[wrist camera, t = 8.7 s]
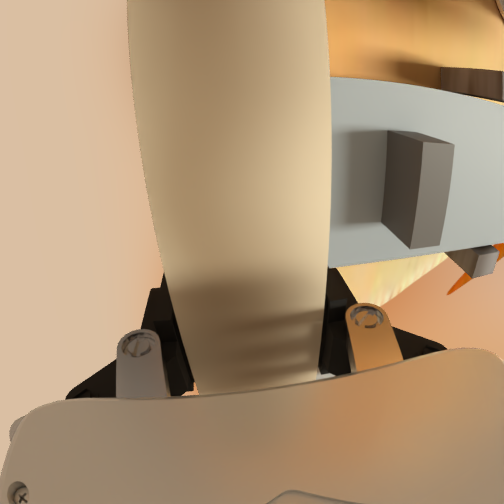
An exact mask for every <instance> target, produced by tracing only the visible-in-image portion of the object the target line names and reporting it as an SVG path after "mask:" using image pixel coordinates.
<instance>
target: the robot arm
mask: <svg viewBox="0 0 504 504" xmlns="http://www.w3.org/2000/svg"><path fill="white" fill-rule="evenodd" d="M496 3H497V6H498V8H499V10H500V13H501V15H502V17H503V19H504V0H496ZM318 368H319V371H320V373H321V375H323V374H328V373H330V374H333V375H335V376H334V377H329V378H324V379H319V380H313V381H308V382H302V383H296V384H290V385H283V386H277V387H270V388H262V389H254V390H246V391H237V392H227V393H217V394H205V395H190V396H181V395H183V394H184V393H185V392H186V391H193V390H194V388H193V387H194V382H195V380H194V377H193V374H192V371H191V368H190V364H189V361H188V358H187V355H186V351H185V348H184V345H183V341H182V338H181V334H180V331H179V327H178V324H177V320H176V316H175V313H174V309H173V305H172V301H171V297H170V294H169V290H168V286H167V282H166V277H165V273H164V274H163V278H162V283H161V287H160V288H152V289H151V291H150V294H149V298H148V302H147V306H146V309H145V314H144V318H143V322H142V326H141V329H139V330H135V331H131V332H130V333H128V334H126V335H125V336H124V337H123V338H121V340H120V341H119V343H118V346H117V359H116V360H114V361H113V362H111V363H110V364H108V365H107V366H105V367H104V368H102V369H101V370H100V371H98V372H97V373H95V374H94V375H92V376H91V377H89V378H88V379H86V380H85V381H83V382H82V383H81V384H79V385H77V386H76V387H74V388H73V389H72V390H71V391H70V392H69V393H68V395H67V396H66V399H65V400H61V401H56V402H52V403H49V404H45V405H42V406H40V407H38V408H36V409H34V410H32V411H30V413H28V414H27V415H25V416H23V417H21V418H19V419H18V420H16V421H15V422H14V423H13V424H12V426H11V429H10V441H11V444H10V446H9V449H8V452H7V455H6V459H5V462H4V465H3V469H2V472H1V476H0V504H504V361H503V360H502V359H501V358H500V357H499V356H498V355H496V354H494V353H493V352H491V351H488V350H484V349H478V348H456V349H448V350H447V348H445V347H444V346H443V345H442V344H439V343H437V342H435V341H432V340H428V339H426V338H423V337H420V336H417V335H415V334H412V333H409V332H406V331H403V330H400V329H398V328H395V327H392V326H391V323H390V320H389V318H388V316H387V314H386V312H385V311H384V310H383V309H382V308H381V307H379V306H377V305H374V304H370V303H359V304H358V302H357V301H356V299H355V297H354V296H353V294H352V292H351V291H350V289H349V288H348V286H347V284H346V283H345V281H344V279H343V278H342V276H341V275H340V273H339V271H338V270H337V269H336V268H329V266H328V267H327V281H326V293H325V305H324V315H323V325H322V335H321V344H320V352H319V361H318Z"/></svg>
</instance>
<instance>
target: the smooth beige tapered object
mask: <svg viewBox="0 0 504 504" xmlns="http://www.w3.org/2000/svg"><path fill="white" fill-rule="evenodd" d="M127 20H128V39H129V55H130V67H131V79H132V89H133V98H134V107H135V115H136V123H137V130H138V138H139V144H140V151H141V158H142V164H143V170H144V176H145V182H146V188H147V193H148V199H149V204H150V209H151V214H152V219H153V224H154V229H155V233H156V238H157V242H158V247H159V252H160V256H161V261H162V265H163V269H164V273H165V277H166V282H167V286H168V290H169V294H170V297H171V301H172V305H173V309H174V313H175V316H176V320H177V324H178V327H179V331H180V334H181V338H182V341H183V345H184V348H185V351H186V355H187V358H188V361H189V364H190V368H191V371H192V374H193V377H194V380H195V383H196V386H197V390H198V393H199V395H205V394H217V393H227V392H237V391H246V390H254V389H262V388H270V387H277V386H283V385H290V384H296V383H302V382H308V381H313V380H316V376H317V368H318V361H319V352H320V344H321V335H322V325H323V315H324V305H325V293H326V281H327V267H328V251H329V233H330V210H331V170H332V126H331V87H330V66H329V49H328V35H327V22H326V11H325V1H324V0H127Z"/></svg>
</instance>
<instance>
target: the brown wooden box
mask: <svg viewBox="0 0 504 504" xmlns="http://www.w3.org/2000/svg"><path fill="white" fill-rule="evenodd" d="M441 90H443V91H448V92H453V93H457V94H462V95H467V96H473V97H479V98H484V99H489V100H494V101H499V102H504V72H503V71H495V70H485V69H472V68H452V67H441ZM444 253H445V254H446V255H448V256H449V257H450V258H451V259H452V260H453V261H454V262H455V263H457V265H459V266H460V267H461V268H462V269H463V270H464V271H465V272H466V273H467V274H468V275H469V276H470V277H471V278H476V277H480V276H484V275H488V274H492V273H493V270H494V268H495V264H496V261H497V258H498V255H499V251H498V250H497V249H495V248H494V247H493V246H492V245H486V246H480V247H474V248H467V249H461V250H455V251H448V252H444Z"/></svg>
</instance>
